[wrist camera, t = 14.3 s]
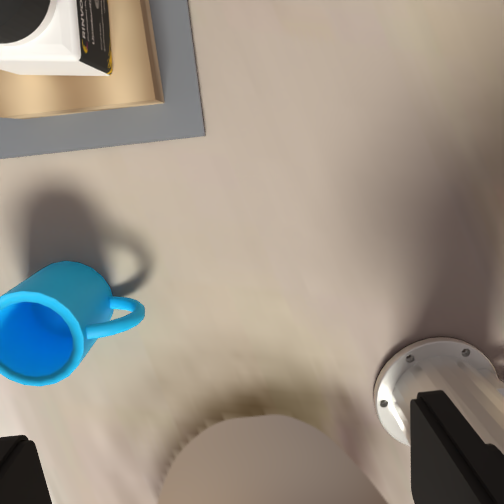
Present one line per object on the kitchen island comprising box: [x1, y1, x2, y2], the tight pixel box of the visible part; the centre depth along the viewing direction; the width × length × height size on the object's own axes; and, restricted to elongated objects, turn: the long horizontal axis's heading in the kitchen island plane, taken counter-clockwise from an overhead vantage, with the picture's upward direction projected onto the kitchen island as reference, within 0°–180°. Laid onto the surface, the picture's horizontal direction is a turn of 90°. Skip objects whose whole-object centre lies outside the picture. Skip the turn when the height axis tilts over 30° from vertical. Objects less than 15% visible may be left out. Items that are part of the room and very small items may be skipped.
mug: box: [0, 261, 145, 386], centre depth 38 cm, size 12×8×8 cm
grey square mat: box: [0, 0, 205, 159], centre depth 35 cm, size 18×18×1 cm
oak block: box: [0, 0, 165, 119], centre depth 33 cm, size 12×12×4 cm
